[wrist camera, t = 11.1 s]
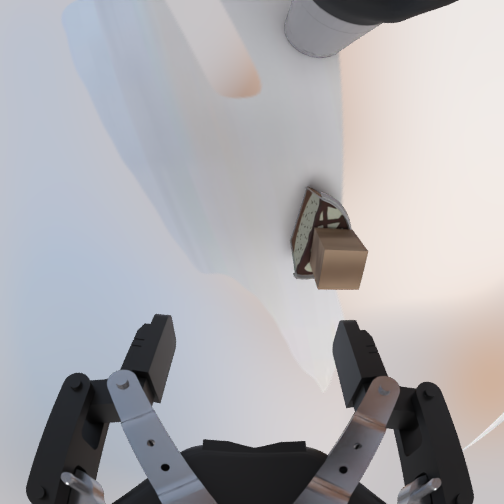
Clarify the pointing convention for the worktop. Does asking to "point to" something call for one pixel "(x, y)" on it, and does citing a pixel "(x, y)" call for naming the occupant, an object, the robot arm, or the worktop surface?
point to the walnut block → (337, 259)
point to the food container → (314, 216)
